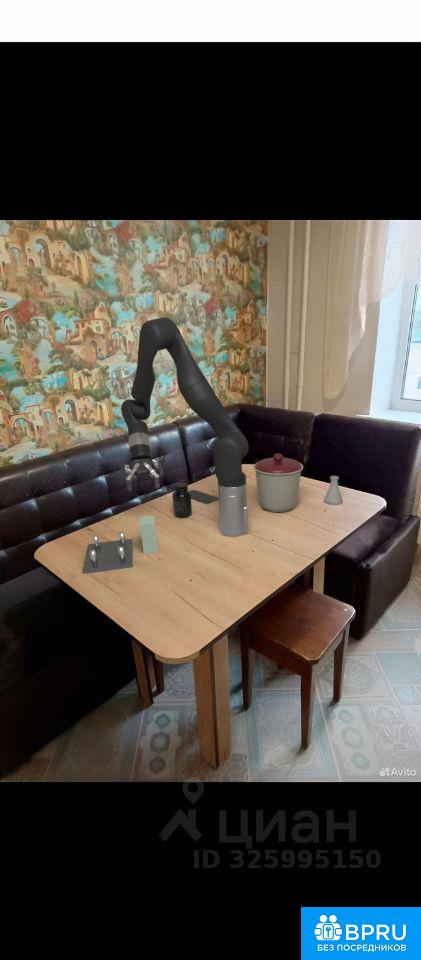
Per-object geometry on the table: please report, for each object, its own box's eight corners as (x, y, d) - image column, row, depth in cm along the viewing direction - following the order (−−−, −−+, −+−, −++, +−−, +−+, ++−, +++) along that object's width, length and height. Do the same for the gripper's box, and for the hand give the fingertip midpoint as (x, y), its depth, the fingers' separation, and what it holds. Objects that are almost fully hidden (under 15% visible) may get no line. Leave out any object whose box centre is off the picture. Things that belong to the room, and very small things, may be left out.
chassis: (132, 541, 133) (131, 527, 132) (132, 567, 119) (130, 551, 117) (89, 547, 131) (86, 532, 130) (83, 573, 116) (80, 557, 115)
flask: (327, 496, 162) (328, 473, 159) (345, 500, 158) (347, 475, 155) (320, 502, 157) (321, 478, 153) (339, 506, 153) (340, 481, 149)
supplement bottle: (180, 510, 156) (177, 480, 153) (195, 512, 153) (193, 482, 149) (170, 516, 151) (167, 486, 147) (186, 519, 148) (183, 489, 144)
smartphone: (193, 489, 176) (219, 497, 165) (193, 491, 176) (219, 499, 165) (180, 494, 171) (206, 502, 160) (180, 496, 171) (206, 505, 160)
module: (156, 543, 132) (154, 515, 128) (158, 552, 126) (155, 523, 123) (143, 545, 131) (139, 516, 128) (143, 554, 125) (140, 525, 122)
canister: (262, 496, 166) (262, 446, 159) (306, 501, 159) (308, 449, 152) (247, 513, 151) (246, 458, 144) (295, 520, 143) (296, 463, 136)
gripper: (117, 444, 137) (121, 488, 130) (160, 441, 139) (165, 483, 132) (120, 455, 143) (123, 497, 137) (160, 452, 146) (165, 493, 139)
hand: (144, 490), depth 134 cm, fingers open, 8 cm apart
